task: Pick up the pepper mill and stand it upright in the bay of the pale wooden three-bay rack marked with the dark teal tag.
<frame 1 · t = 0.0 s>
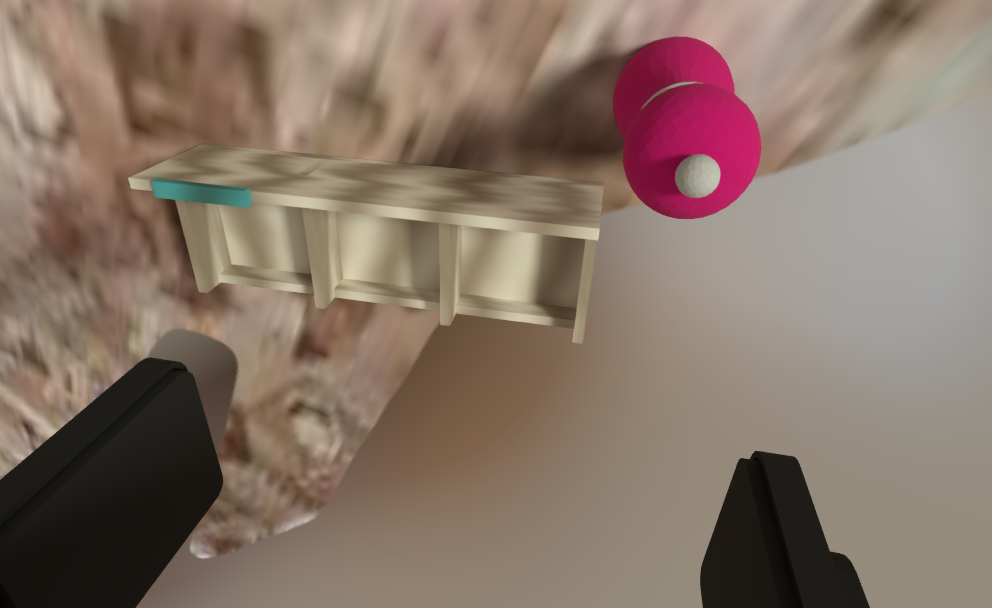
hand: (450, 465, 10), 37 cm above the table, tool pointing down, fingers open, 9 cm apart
pepper mill: (667, 86, 41), on the table
rack: (397, 229, 50), on the table
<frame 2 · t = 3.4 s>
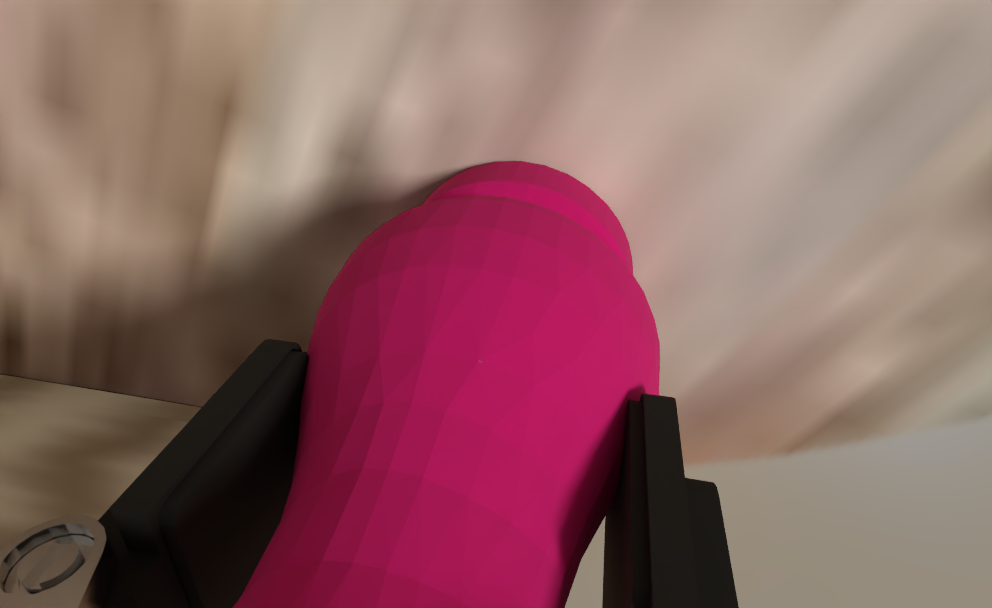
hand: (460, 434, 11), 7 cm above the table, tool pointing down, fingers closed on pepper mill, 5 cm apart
pepper mill: (518, 266, 16), on the table, touching gripper
rack: (49, 478, 26), on the table
when the fingers open (9 cm above the table, at t = 10.7 s): pepper mill moves 1 cm, resting on rack.
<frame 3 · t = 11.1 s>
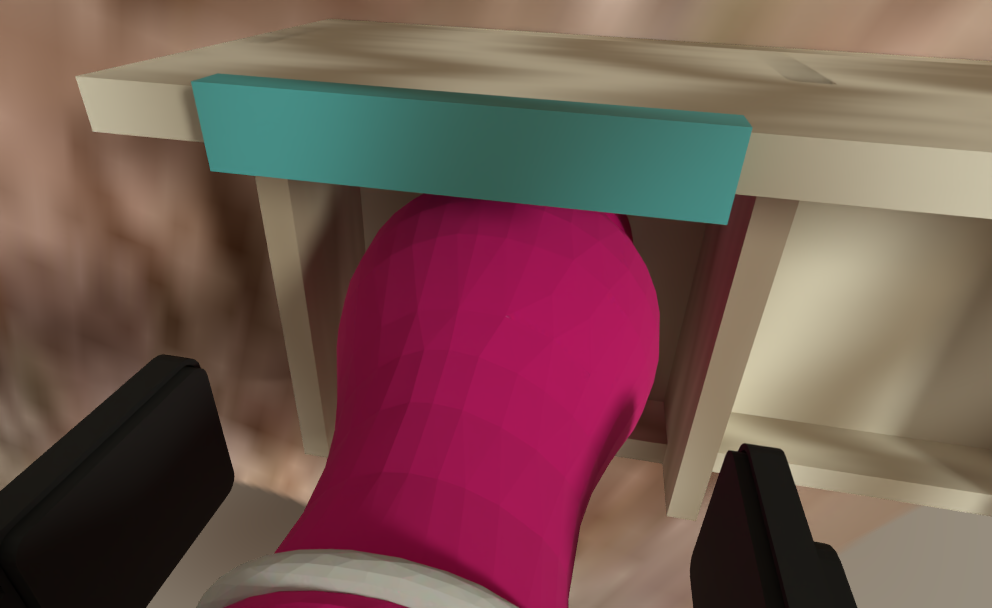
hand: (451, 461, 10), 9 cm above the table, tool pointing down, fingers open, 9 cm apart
pepper mill: (526, 246, 18), point 1 cm above the table, touching rack
rack: (902, 279, 17), on the table
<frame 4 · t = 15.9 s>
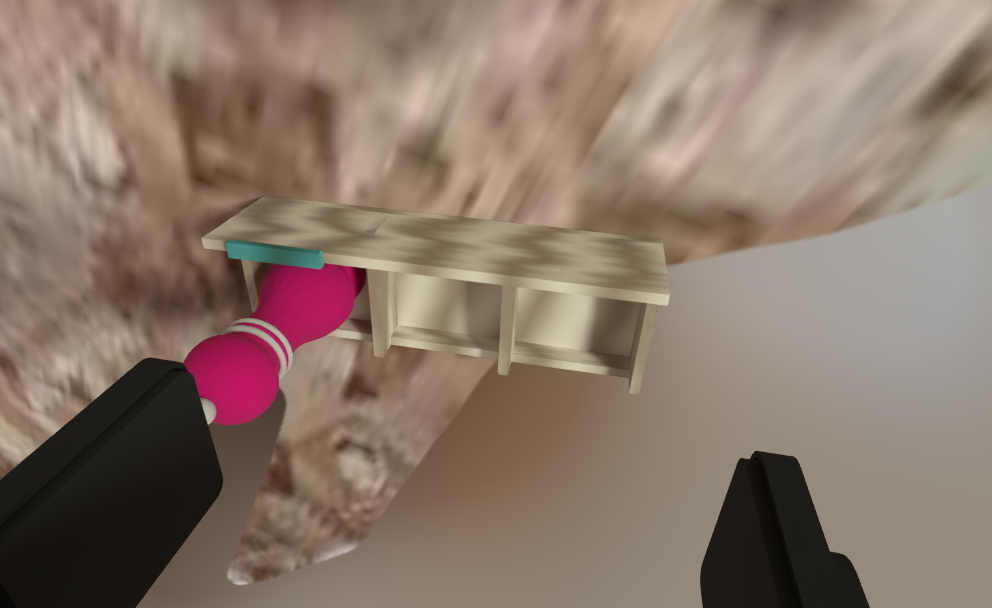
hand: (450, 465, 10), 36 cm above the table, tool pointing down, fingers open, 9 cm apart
pepper mill: (333, 267, 52), point 1 cm above the table, touching rack
rack: (453, 279, 51), on the table
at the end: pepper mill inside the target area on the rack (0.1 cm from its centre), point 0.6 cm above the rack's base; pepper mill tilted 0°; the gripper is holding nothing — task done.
